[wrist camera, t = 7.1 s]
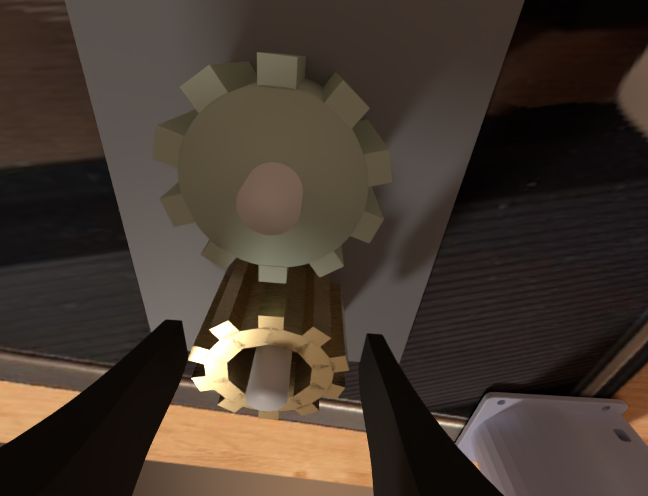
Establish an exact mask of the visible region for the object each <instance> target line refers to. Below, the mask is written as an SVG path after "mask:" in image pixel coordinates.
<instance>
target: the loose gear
mask: <svg viewBox="0 0 648 496" xmlns="http://www.w3.org/2000/svg"><path fill="white" fill-rule="evenodd" d="M269 344H271V345H274V346H278V347H281V348H285V349H288V350H291V351H292V359H291V369H290V379H289V390H288V400H287V404H286V405H285V406H284V407H283V408H281V409H279V410H276V411H260V410H259V418H264V419H278V418H279V411H285V410H293V409H295V410H296V411H297V412H298V413H299V414H300V415H301V416H304V415H307V414H310V413H313V412H316V411H319V398H320V397H322V396H326V397H329V398H333V399H337V398H338V396H339V395H340V394H341V392H342V391H343V390H344V389H345V377H344V371H349V363H348V351H347V340H346V328H345V317H344V305H343V296H342V292H341V287H340V284H337V285H331V286H330V285H329V274H326V275H324V276H322V277H320V278H319V276H318V275H317V274H316V272H315V271H314V269H313V268H312V267H311V265H310V264H309V265H308V266H305V265H300V266H295V267H289V269H288V275H287V282H286V284H285V283H272V282H259V265H257V264H253V263H250V262H247V261H244V260H241V259H239V260H237V262H236V265H235V267H234V269H233V272H232V274H231V277H230V276H227V275H224V277H223V279H222V281H221V283H220V286H219V288H218V290H217V293H216V295H215V297H214V299H213V302H212V304H211V306H210V308H209V311H208V313H207V315H206V317H205V320H204V322H203V324H202V326H201V329H200V331H199V333H198V335H197V338H196V340H195V342H194V344H193V347H192V350H191V353H190V356H189V359H188V360H190V361H194V362H198V363H197V366H196V368H195V370H194V373H193V375H192V380H193V381H194V383H195V384H196V386H197V387H198V389H199V390H200V391H206V390H213V389H215V390H216V391H217V392H218V393H220V394H221V395H220V398H219V402H218V405H219V406H221V407H224V408H226V409H228V410H230V411H232V412H236V411H237V410H239V409H240V408H241V407H247V408H251V409H254V408H252V407H251V406H250V405H248V403H247V402H246V400H245V396H246V391H247V387H248V382H249V378H250V374H251V369H252V365H253V360H254V356H255V351H256V347H257V346H263V345H269ZM256 410H257V409H256Z"/></svg>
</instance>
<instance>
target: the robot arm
mask: <svg viewBox="0 0 648 496" xmlns="http://www.w3.org/2000/svg"><path fill="white" fill-rule="evenodd" d="M187 360H188V350H187V345H186V339H185V334H184V328H183V323H182V320H169V319H166V320H164V321H163V322H162V323H161V324H160V325H159V326H158V327H157V328H156V329H154V330H153V331H152V332H151V333H150V334H149V335H148V336H147V337H146V338H145V339H144V340H143V341H142V342H141V343H139V344H138V345H137V346H136V347H135V348H134V349H133V350H132V351H131V352H130V353H128V354H127V355H126V356H125V357H124V358H123V359H122V360H120V361H119V362H118V363H117V364H116V365H115V366H114V367H112V368H111V369H110V370H109V371H108V372H106V373H105V374H104V375H103V376H102V377H100V378H99V379H98V380H97V381H95V382H94V383H93V384H92V385H91V386H89V387H88V388H87V389H85V390H84V391H83V392H82V393H80V394H79V395H78V396H76V397H75V398H74V399H72V400H71V401H69V402H68V403H67V404H65V405H64V406H63V407H61V408H60V409H58V410H57V411H56V412H54V413H53V414H51V415H50V416H48V417H47V418H45V419H44V420H42V421H41V422H39V423H38V424H36V425H35V426H33V427H32V428H30V429H29V430H27V431H26V432H24V433H23V434H21V435H19V436H18V437H16V438H15V439H13V440H12V441H10V442H8V443H7V444H5V445H3V446H2V447H0V496H132V494H133V491H134V488H135V485H136V483H137V480H138V477H139V474H140V472H141V469H142V466H143V463H144V461H145V458H146V455H147V453H148V451H149V448H150V446H151V444H152V441H153V439H154V437H155V435H156V433H157V431H158V428H159V426H160V424H161V422H162V420H163V418H164V416H165V414H166V411H167V409H168V407H169V405H170V403H171V401H172V399H173V396H174V394H175V392H176V390H177V388H178V386H179V383H180V381H181V378H182V375H183V372H184V369H185V366H186V363H187ZM359 385H360V396H361V402H362V408H363V415H364V421H365V427H366V433H367V439H368V445H369V451H370V458H371V466H372V479H373V491H374V496H648V446H647V445H646V443H645V442H644V441H643V440H642V439H641V437H640V436H639V435H638V434H637V433H636V431H635V430H634V429H633V428H632V427H631V425H630V424H629V423H628V422H627V421H626V419H625V418H624V417H623V416H622V414H623V413H624V412H625V411H626V410H627V409H628V405H627V404H626V403H625V401H623V400H620V399H604V398H587V397H570V396H553V395H536V394H519V393H502V392H490V393H487V394H485V395H484V397H483V399H482V400H481V402H480V403H479V405H478V407H477V408H476V410H475V412H474V413H473V415H472V417H471V418H470V420H469V421H468V423H467V425H466V426H465V428H464V430H463V431H462V433H461V435H460V436H459V438H458V439H457V441H456V443H454V442H453V441H452V439H451V438H450V437H449V436H448V435H447V433H446V432H445V431H444V430H443V428H442V427H441V426H440V425H439V423H438V422H437V421H436V419H435V418H434V417H433V415H432V414H431V413H430V411H429V410H428V409H427V407H426V406H425V404H424V403H423V401H422V400H421V399H420V397H419V396H418V394H417V393H416V391H415V390H414V388H413V387H412V385H411V383H410V382H409V380H408V379H407V377H406V375H405V374H404V372H403V371H402V369H401V367H400V365H399V364H398V362H397V360H396V358H395V357H394V355H393V353H392V351H391V349H390V347H389V345H388V344H387V342H386V340H385V338H384V336H383V335H382V334H371V333H367V335H366V339H365V343H364V347H363V351H362V355H361V359H360V363H359ZM471 461H475V462H477V464H478V466H479V469H480V471H479V470H478V468H477V467H476V466H475V465H474V464H473V463H472V462H471Z"/></svg>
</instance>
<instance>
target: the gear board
mask: <svg viewBox="0 0 648 496" xmlns="http://www.w3.org/2000/svg"><path fill="white" fill-rule="evenodd" d="M65 3H66V7H67V11H68V15H69V18H70V22H71V26H72V30H73V34H74V38H75V41H76V45H77V49H78V53H79V57H80V61H81V64H82V68H83V72H84V76H85V80H86V84H87V87H88V91H89V95H90V99H91V103H92V107H93V111H94V114H95V118H96V122H97V126H98V130H99V134H100V137H101V141H102V145H103V149H104V153H105V157H106V160H107V164H108V168H109V172H110V176H111V180H112V183H113V187H114V191H115V195H116V199H117V203H118V206H119V210H120V214H121V218H122V222H123V226H124V230H125V233H126V237H127V241H128V245H129V249H130V253H131V256H132V260H133V264H134V268H135V272H136V276H137V279H138V283H139V287H140V291H141V295H142V299H143V302H144V306H145V310H146V314H147V318H148V322H149V325H150V329H151V332H152V331H153V330H154V329H156V328H157V327H158V326H159V325H160V324H161V323H162V322H163V321H164V320H166V319H169V320H182V323H183V328H184V334H185V339H186V345H187V350H188V351H191V350H192V347H193V344H194V342H195V340H196V338H197V335H198V333H199V331H200V329H201V326H202V324H203V322H204V320H205V317H206V315H207V313H208V311H209V308H210V306H211V304H212V302H213V299H214V297H215V295H216V293H217V290H218V288H219V286H220V283H221V281H222V279H223V277H224V275H227V276H230V277H231V274H232V272H233V269H234V267H235V265H236V262H237V260H239V259H241V260H244V261H247V262H250V263H253V264H257V265H259V282H272V283H285V284H286V282H287V275H288V269H289V267H295V266H300V265H305V266H308V265H309V264H310V265H311V267H312V268H313V269H314V271H315V272H316V274H317V275H318V276H319V278H320V277H322V276H324V275H326V274H329V285H330V286H331V285H337V284H340V287H341V292H342V296H343V305H344V317H345V328H346V340H347V351H348V361H357V362H360V359H361V355H362V351H363V347H364V343H365V339H366V335H367V333H371V334H382V335H383V336H384V338H385V340H386V342H387V344H388V345H389V347H390V349H391V351H392V353H393V355H394V357H395V358H396V360H397V362H398V364H399V362H400V359H401V356H402V354H403V351H404V348H405V345H406V342H407V339H408V336H409V333H410V330H411V327H412V325H413V322H414V319H415V316H416V313H417V310H418V307H419V304H420V301H421V299H422V296H423V293H424V290H425V287H426V284H427V281H428V278H429V275H430V273H431V270H432V267H433V264H434V261H435V258H436V255H437V252H438V249H439V246H440V244H441V241H442V238H443V235H444V232H445V229H446V226H447V223H448V220H449V218H450V215H451V212H452V209H453V206H454V203H455V200H456V197H457V194H458V191H459V189H460V186H461V183H462V180H463V177H464V174H465V171H466V168H467V165H468V163H469V160H470V157H471V154H472V151H473V148H474V145H475V142H476V139H477V136H478V134H479V131H480V128H481V125H482V122H483V119H484V116H485V113H486V110H487V108H488V105H489V102H490V99H491V96H492V93H493V90H494V87H495V84H496V81H497V79H498V76H499V73H500V70H501V67H502V64H503V61H504V58H505V55H506V53H507V50H508V47H509V44H510V41H511V38H512V35H513V32H514V29H515V27H516V24H517V21H518V18H519V15H520V12H521V9H522V6H523V3H524V0H65ZM291 359H292V351H291V350H288V349H285V348H281V347H278V346H274V345H271V344H269V345H263V346H257V347H256V351H255V356H254V360H253V365H252V369H251V374H250V378H249V382H248V387H247V391H246V396H245V400H246V402H247V403H248V405H250V406H251V407H252V408H254V409H257V410H260V411H276V410H279V409H281V408H283V407H284V406H285V405H286V404H287V400H288V390H289V379H290V369H291Z"/></svg>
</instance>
